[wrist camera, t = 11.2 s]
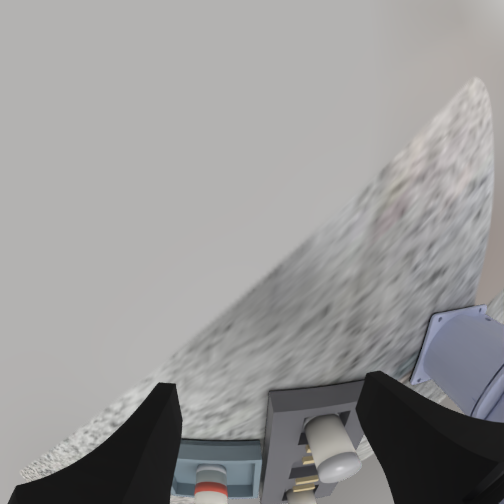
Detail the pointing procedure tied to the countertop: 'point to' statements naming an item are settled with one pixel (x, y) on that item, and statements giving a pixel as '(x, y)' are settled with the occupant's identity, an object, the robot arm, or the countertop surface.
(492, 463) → the robot arm
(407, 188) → the countertop surface
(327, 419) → the fuse
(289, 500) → the fuse
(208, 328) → the countertop surface
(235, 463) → the tray
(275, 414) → the fuse holder
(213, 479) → the marked fuse
